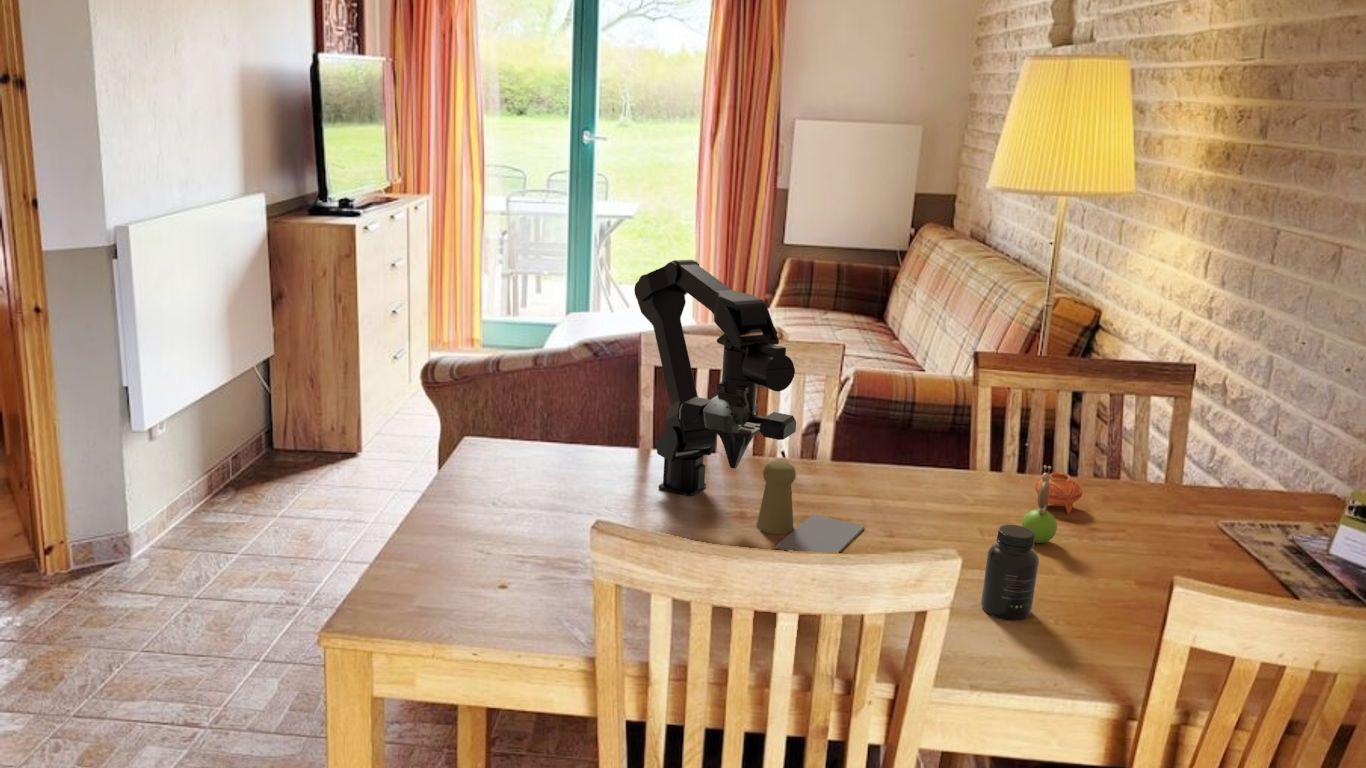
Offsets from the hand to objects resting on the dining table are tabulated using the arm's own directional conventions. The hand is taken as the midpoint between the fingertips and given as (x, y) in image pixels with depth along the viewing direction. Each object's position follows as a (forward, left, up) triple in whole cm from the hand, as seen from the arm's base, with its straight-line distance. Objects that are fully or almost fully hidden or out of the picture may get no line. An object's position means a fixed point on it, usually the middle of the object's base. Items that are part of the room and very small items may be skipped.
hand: (733, 467), depth 176 cm
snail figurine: (+46, +20, -9) cm, 51 cm away
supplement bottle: (+47, -9, -9) cm, 49 cm away
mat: (+16, 0, -8) cm, 18 cm away
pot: (+46, +38, -9) cm, 60 cm away
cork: (+8, 0, -9) cm, 12 cm away
